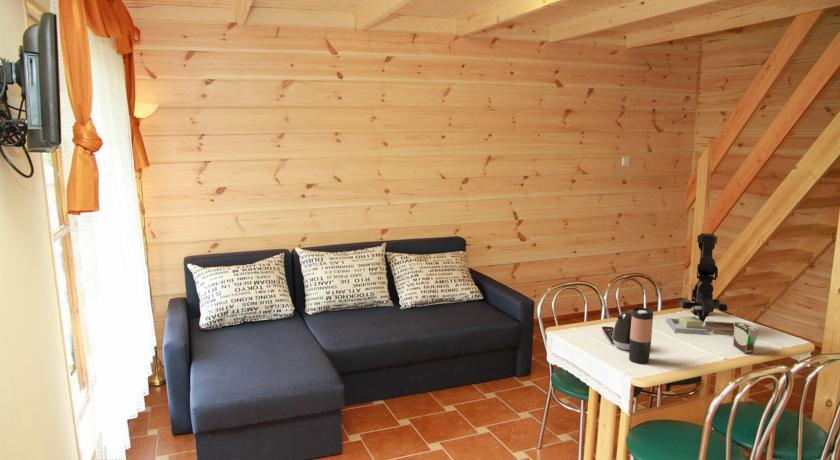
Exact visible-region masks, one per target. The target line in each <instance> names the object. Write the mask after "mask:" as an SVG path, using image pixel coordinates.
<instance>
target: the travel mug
mask: <svg viewBox="0 0 840 460" xmlns="http://www.w3.org/2000/svg"><path fill="white" fill-rule="evenodd" d="M631 313H632V320H631V332H630V348H629V350H628V351H629V353H628V358H629V359H628V360H629V361H630V362H631V363H634V364H637V365H646V364H648V363H649V361H650V355H651V345H652V337H653V335H652V334H653V322H654V320H653V319H654V311H653V310H652V309H649V308H647V307H634V308H632V310H631Z"/></svg>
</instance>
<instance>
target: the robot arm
mask: <svg viewBox="0 0 840 460" xmlns="http://www.w3.org/2000/svg"><path fill="white" fill-rule="evenodd" d="M696 239H697V240H696V243H697V244H698V245H697V246H698V248H699V250H700V259H699V263H697V266H696V267H697V268H696V279H698V280H697V281H696V282H695V284H694V287H693V288H692V290H691V300H690V299H680V300H679V302H678V303H679V306H680V308H682V309H685V310H690V312H691V313H692V314H693V315H694V316H697V317H698V319H699V320H701V321H702V325H703V324H704V323H705V320H706V318H707V317H709V316H710V315H709V314H710V313H714V310H715V309H718V310H719V311H720V312H728V305H727V303H725V302H724V301H720V299H714V298H713V297H714V296H713V295H714V294H713V292H714V284H713V283H714V281H716V280H717V279H718V276H719V274H718V273H719V268H718V266H717V265H716V260H715V259H714V257H713V250H714V249H715V245H717V243H718V236H717V235H716V236H715V234H714V233H702V232H701V233H700V235H699V234H697V237H696ZM691 309H692V310H691Z"/></svg>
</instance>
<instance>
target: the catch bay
mask: <svg viewBox="0 0 840 460" xmlns="http://www.w3.org/2000/svg"><path fill="white" fill-rule="evenodd" d="M665 323H666V324H667V325H668V326H669V327H670V329H671V330H672V331H673V332H674V333H675V334H689V335H690V334H691V335H703V336H704V335H707V336H708V335H709V334H708V331H709V330H708V328H702V329H695V328H680V327H678V326H677V324H678V325H679V318H676V317H675V318H674V317H666V319H665Z"/></svg>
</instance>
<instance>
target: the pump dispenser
mask: <svg viewBox="0 0 840 460" xmlns="http://www.w3.org/2000/svg"><path fill="white" fill-rule="evenodd" d="M615 317H616V318H617V319H616V321H615V324H614V327H613V330H612V335H611V339H612V341H613V344H614V346H615V347H617V348H618V349H620V350H624V351H629V348H630V332H631V320H632V312H629V311H623V312H622V313H621V314H620V315H619V314H616V316H615Z"/></svg>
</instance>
